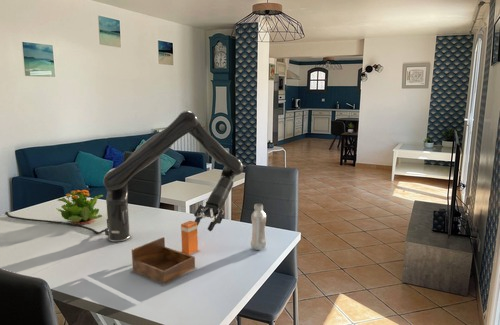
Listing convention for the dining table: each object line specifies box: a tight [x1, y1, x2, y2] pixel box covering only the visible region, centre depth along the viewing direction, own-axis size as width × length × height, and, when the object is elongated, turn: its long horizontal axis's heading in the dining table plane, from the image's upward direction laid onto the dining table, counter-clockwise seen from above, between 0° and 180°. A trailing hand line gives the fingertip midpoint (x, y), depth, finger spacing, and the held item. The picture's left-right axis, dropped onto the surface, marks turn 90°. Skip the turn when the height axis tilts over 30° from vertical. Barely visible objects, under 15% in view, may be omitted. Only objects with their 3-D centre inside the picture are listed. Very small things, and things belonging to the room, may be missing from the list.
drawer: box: [131, 236, 196, 285], centre depth 144 cm, size 18×16×9 cm
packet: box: [180, 220, 199, 255], centre depth 160 cm, size 4×6×13 cm
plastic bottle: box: [250, 203, 267, 251], centre depth 163 cm, size 6×7×20 cm
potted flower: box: [56, 189, 104, 226], centre depth 197 cm, size 25×24×18 cm
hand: (201, 228), depth 166 cm, fingers open, 8 cm apart
